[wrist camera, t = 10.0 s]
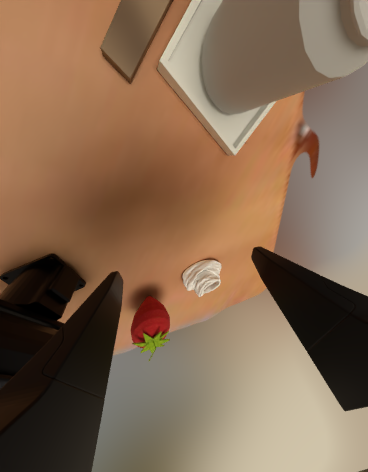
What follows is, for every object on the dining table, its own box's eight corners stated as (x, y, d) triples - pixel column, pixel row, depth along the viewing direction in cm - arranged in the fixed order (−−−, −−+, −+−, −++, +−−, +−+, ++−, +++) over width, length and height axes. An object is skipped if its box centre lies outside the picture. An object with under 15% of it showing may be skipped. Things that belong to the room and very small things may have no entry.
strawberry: (128, 311, 28) (126, 380, 19) (135, 282, 25) (136, 348, 16) (158, 310, 30) (168, 370, 22) (168, 283, 27) (183, 340, 19)
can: (252, -21, 12) (794, -799, 2) (272, 86, 16) (490, -17, 6) (182, 45, 13) (359, -323, 3) (219, 132, 17) (341, 104, 7)
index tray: (227, 155, 19) (234, 155, 18) (156, 69, 13) (159, 60, 12) (292, 68, 16) (307, 60, 15) (239, -84, 11) (254, -117, 9)
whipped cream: (209, 248, 28) (224, 262, 23) (222, 270, 31) (237, 285, 26) (175, 273, 27) (183, 291, 23) (191, 292, 30) (201, 312, 26)
